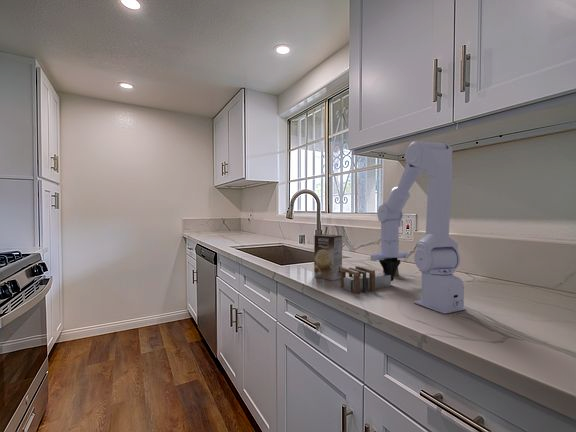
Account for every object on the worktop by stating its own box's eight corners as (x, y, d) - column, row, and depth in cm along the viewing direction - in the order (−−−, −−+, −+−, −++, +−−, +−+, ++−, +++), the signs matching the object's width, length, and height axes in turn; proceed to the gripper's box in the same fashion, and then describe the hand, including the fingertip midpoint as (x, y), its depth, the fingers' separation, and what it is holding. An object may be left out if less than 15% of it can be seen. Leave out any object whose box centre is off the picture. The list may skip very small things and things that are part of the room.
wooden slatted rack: (375, 291, 91) (375, 270, 91) (356, 293, 88) (356, 272, 88) (358, 284, 99) (358, 265, 99) (340, 287, 96) (340, 267, 96)
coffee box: (313, 277, 111) (313, 235, 110) (322, 274, 115) (322, 233, 115) (333, 280, 105) (333, 236, 104) (343, 277, 109) (342, 235, 109)
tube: (382, 283, 100) (382, 272, 100) (390, 286, 96) (390, 274, 96) (343, 288, 94) (343, 276, 94) (350, 292, 90) (350, 279, 90)
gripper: (397, 238, 105) (397, 276, 105) (364, 240, 99) (364, 280, 100) (412, 240, 99) (412, 280, 99) (378, 242, 93) (378, 284, 93)
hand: (389, 280), depth 99 cm, fingers closed
